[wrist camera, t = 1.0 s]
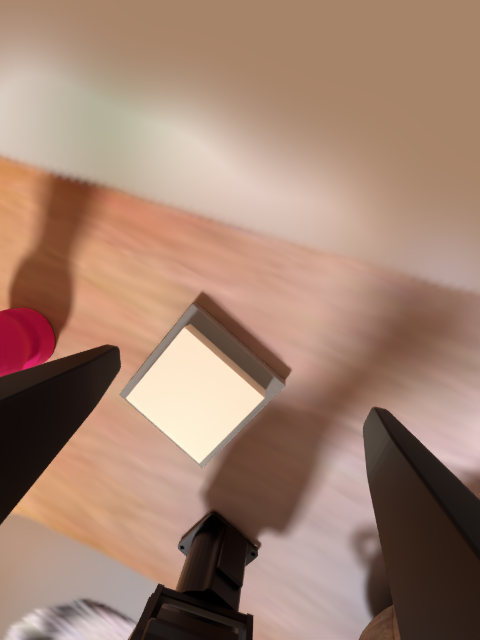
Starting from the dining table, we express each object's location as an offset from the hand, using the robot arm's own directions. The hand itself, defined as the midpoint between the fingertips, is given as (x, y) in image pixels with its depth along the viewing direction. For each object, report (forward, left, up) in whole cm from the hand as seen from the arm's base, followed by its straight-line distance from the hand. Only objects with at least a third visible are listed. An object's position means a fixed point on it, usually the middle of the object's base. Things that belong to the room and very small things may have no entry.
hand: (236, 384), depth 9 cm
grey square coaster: (-9, 0, -15) cm, 17 cm away
